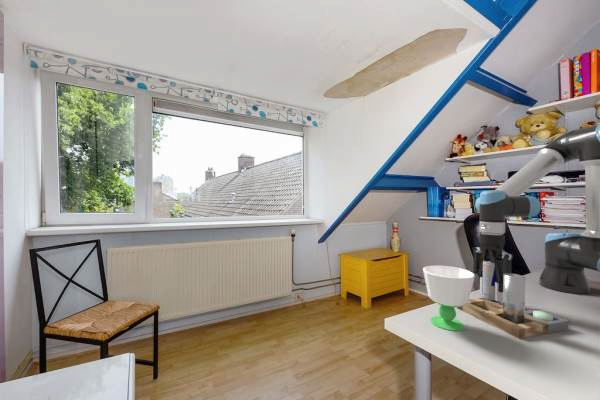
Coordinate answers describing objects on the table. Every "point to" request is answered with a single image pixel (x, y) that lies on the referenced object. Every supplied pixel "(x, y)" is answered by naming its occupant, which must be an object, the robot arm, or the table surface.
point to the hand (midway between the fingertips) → (491, 297)
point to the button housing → (552, 322)
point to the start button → (543, 315)
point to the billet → (514, 298)
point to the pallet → (496, 319)
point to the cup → (448, 293)
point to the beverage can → (489, 281)
